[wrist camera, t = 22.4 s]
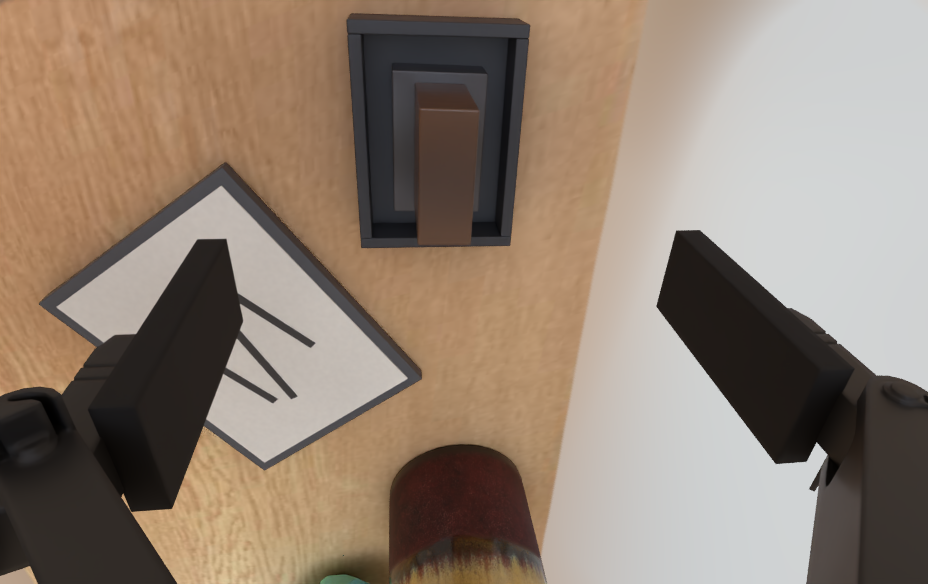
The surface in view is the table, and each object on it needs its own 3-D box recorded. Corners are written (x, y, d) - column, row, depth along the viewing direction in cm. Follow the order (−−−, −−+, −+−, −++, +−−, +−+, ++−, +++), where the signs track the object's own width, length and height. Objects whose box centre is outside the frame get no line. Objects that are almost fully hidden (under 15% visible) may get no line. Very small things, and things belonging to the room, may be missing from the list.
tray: (350, 13, 26) (346, 18, 24) (519, 18, 27) (530, 24, 25) (363, 228, 32) (361, 248, 30) (502, 226, 33) (510, 246, 31)
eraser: (391, 62, 27) (391, 93, 21) (482, 65, 28) (507, 97, 22) (393, 197, 31) (394, 256, 25) (473, 197, 31) (493, 255, 25)
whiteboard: (45, 295, 32) (36, 305, 31) (225, 161, 29) (220, 168, 28) (266, 461, 41) (264, 472, 40) (421, 370, 38) (422, 380, 37)
